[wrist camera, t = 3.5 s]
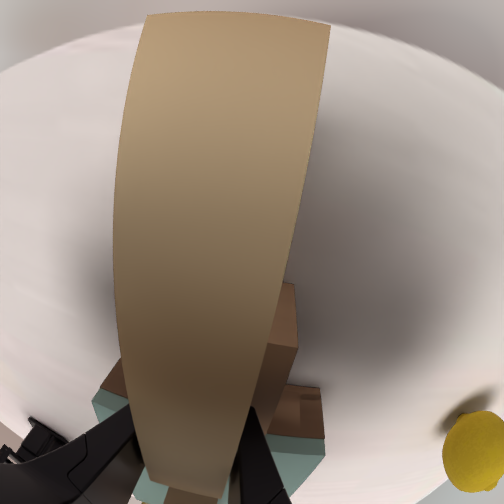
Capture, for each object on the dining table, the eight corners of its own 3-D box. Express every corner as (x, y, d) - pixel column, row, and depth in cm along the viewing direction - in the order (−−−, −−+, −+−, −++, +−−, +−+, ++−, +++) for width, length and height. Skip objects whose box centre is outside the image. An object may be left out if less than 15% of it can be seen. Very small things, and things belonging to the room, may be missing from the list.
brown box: (263, 489, 19) (259, 526, 15) (149, 463, 20) (136, 498, 16) (358, 296, 12) (386, 358, 8) (123, 249, 12) (66, 288, 8)
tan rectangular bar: (233, 436, 9) (221, 498, 7) (172, 422, 10) (150, 480, 7) (309, 80, 5) (330, 25, 3) (202, 66, 5) (147, 14, 3)
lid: (260, 511, 17) (254, 557, 12) (141, 485, 17) (125, 527, 12) (322, 426, 12) (328, 520, 7) (107, 378, 12) (57, 452, 7)
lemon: (422, 442, 16) (444, 517, 8) (445, 401, 14) (482, 487, 7) (472, 425, 15) (499, 489, 8) (497, 382, 13) (538, 452, 6)
